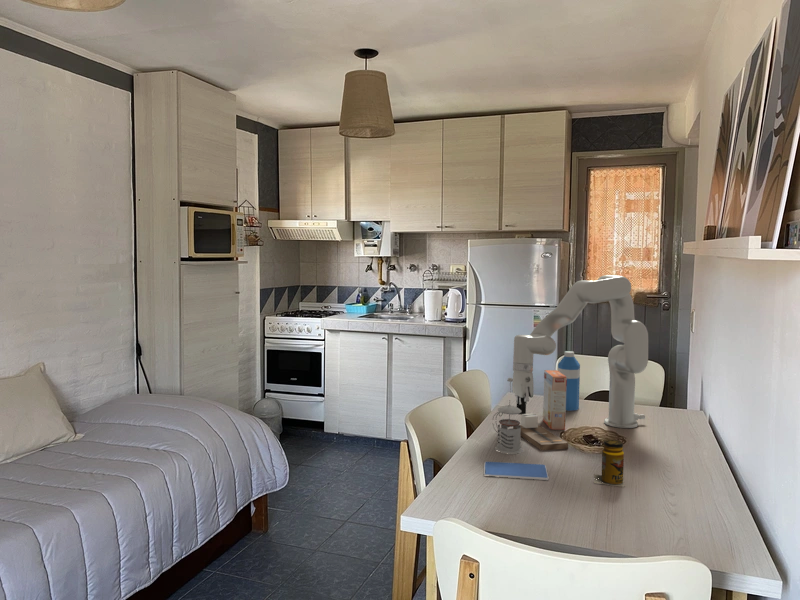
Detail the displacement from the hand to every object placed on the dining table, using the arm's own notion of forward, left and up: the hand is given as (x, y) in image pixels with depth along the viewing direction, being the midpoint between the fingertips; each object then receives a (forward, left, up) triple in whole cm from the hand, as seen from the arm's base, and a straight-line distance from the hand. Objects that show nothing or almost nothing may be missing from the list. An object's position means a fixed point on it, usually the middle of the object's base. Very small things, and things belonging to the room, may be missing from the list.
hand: (521, 413), depth 230 cm
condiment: (-3, +57, -6) cm, 57 cm away
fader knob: (-1, +7, -3) cm, 7 cm away
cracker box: (-15, -1, -6) cm, 16 cm away
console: (-1, +15, -6) cm, 16 cm away
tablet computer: (+21, +44, -6) cm, 49 cm away
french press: (+15, +23, -6) cm, 28 cm away
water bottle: (-34, -25, -6) cm, 42 cm away
